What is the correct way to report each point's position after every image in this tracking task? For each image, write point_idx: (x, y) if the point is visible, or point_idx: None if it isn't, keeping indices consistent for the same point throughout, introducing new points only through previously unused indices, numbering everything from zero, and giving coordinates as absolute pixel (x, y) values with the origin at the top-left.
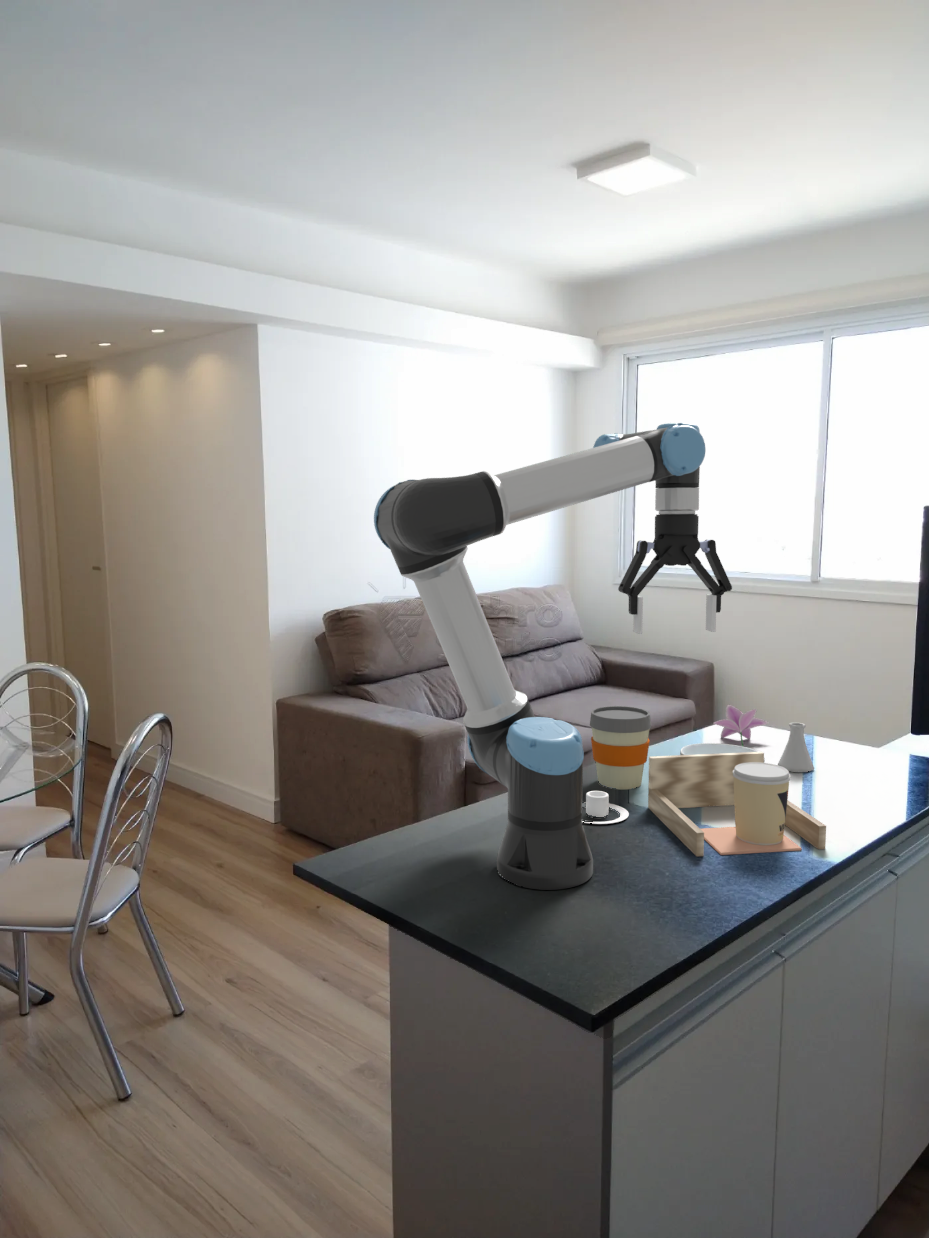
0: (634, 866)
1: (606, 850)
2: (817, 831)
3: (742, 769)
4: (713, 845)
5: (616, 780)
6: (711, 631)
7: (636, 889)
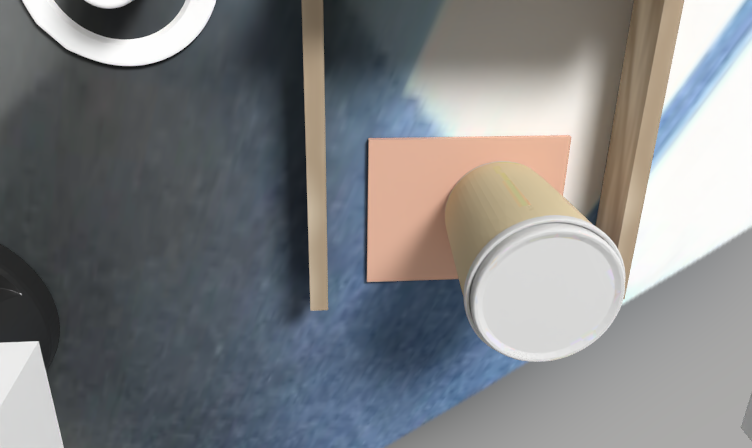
0: (158, 313)
1: (108, 228)
2: None
3: (499, 283)
4: (367, 244)
5: None
6: (742, 427)
7: (139, 404)
